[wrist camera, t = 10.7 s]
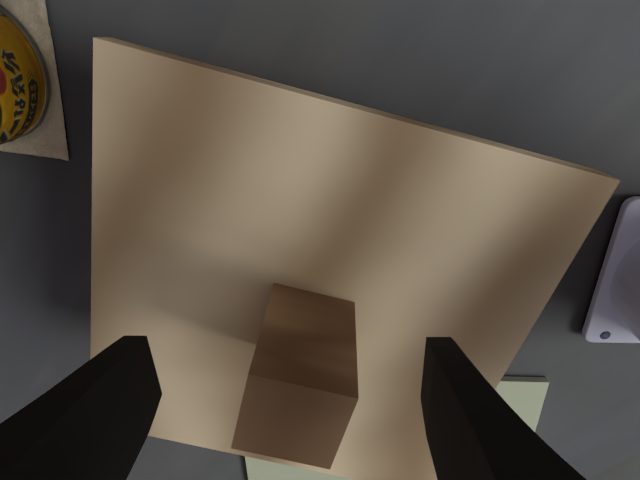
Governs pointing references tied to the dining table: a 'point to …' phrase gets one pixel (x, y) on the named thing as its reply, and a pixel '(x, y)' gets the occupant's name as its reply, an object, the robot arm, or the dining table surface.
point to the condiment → (29, 83)
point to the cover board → (311, 257)
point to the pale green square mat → (516, 391)
